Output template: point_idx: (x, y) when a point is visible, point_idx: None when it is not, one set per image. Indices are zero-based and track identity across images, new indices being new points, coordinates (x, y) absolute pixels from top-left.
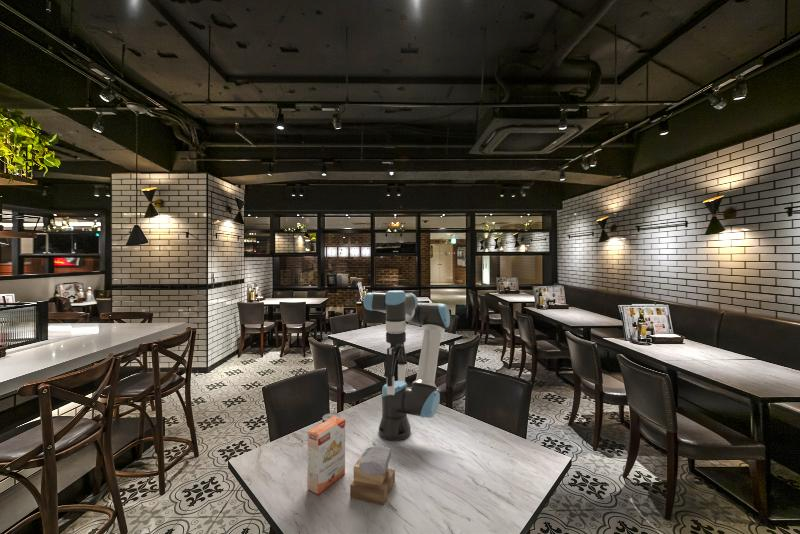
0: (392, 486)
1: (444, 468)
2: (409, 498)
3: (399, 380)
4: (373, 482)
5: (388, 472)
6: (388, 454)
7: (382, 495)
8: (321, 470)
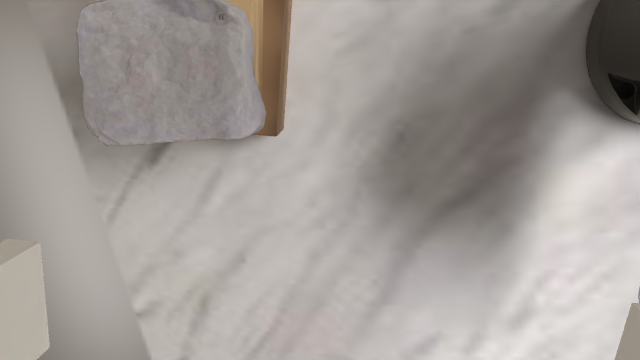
0: None
1: (398, 293)
2: (214, 195)
3: (633, 335)
4: None
5: None
6: (191, 138)
7: None
8: None
